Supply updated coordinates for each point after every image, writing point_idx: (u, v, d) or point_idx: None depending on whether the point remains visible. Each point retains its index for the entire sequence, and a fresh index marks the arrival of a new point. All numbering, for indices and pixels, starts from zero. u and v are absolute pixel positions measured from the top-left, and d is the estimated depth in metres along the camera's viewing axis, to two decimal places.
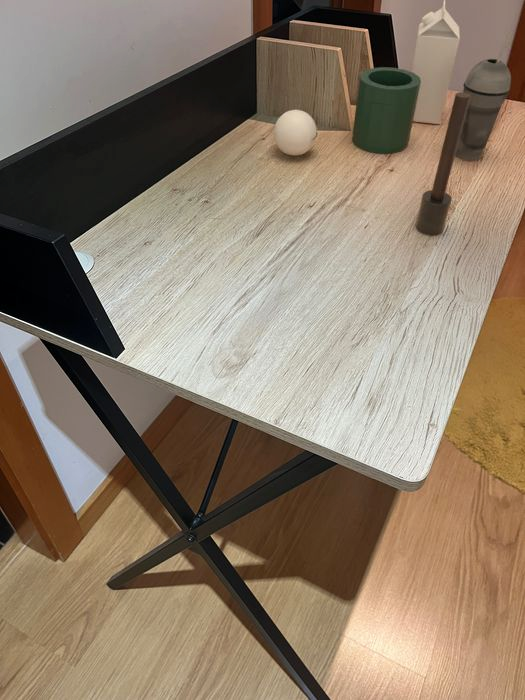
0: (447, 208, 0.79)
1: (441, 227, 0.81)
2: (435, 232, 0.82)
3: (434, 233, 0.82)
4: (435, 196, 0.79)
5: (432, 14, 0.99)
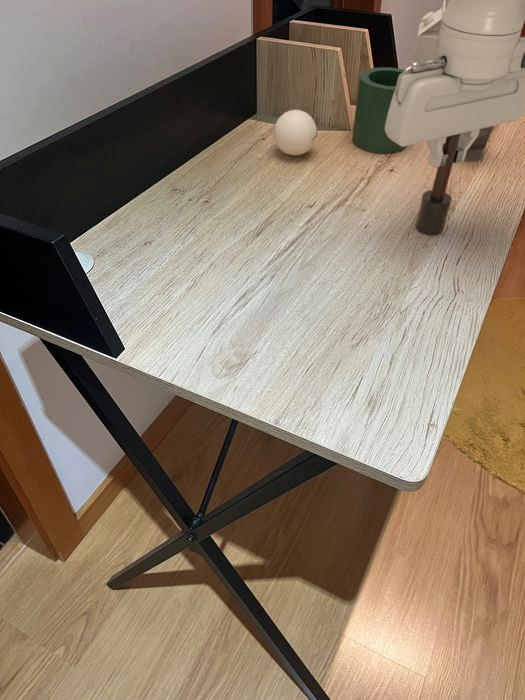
0: (447, 208, 0.79)
1: (441, 227, 0.81)
2: (435, 232, 0.82)
3: (434, 233, 0.82)
4: (435, 196, 0.79)
5: (432, 14, 0.99)
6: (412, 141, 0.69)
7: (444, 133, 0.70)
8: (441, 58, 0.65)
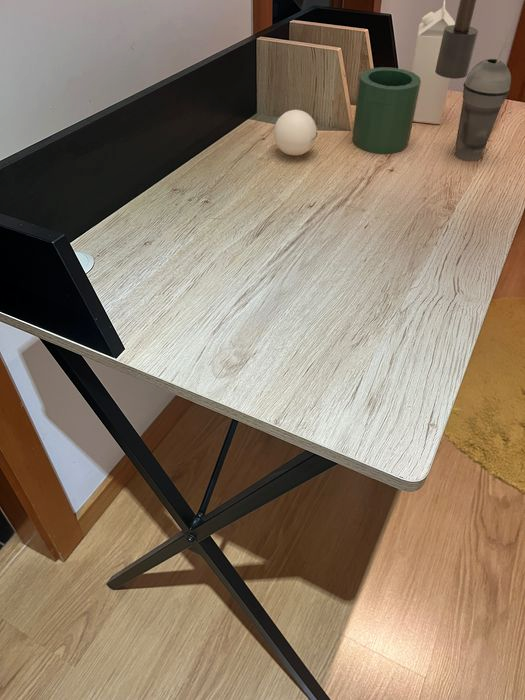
0: (473, 41, 0.69)
1: (465, 68, 0.71)
2: (458, 74, 0.71)
3: (457, 76, 0.71)
4: (459, 26, 0.68)
5: (432, 14, 0.99)
6: None
7: None
8: None
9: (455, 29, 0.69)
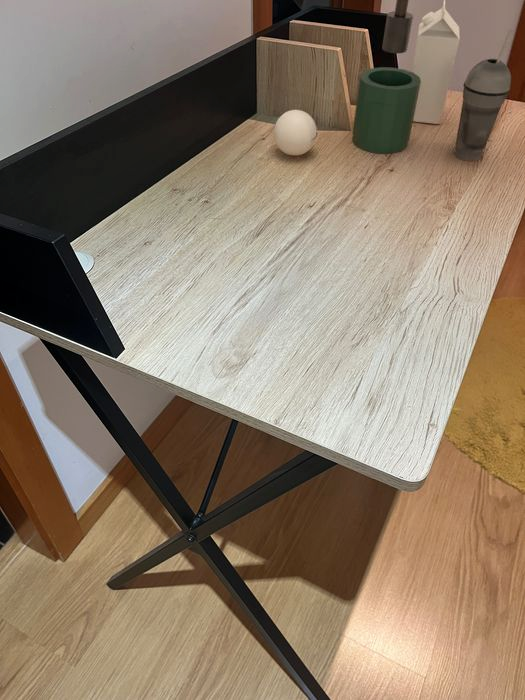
0: (409, 24, 0.88)
1: (404, 45, 0.90)
2: (399, 50, 0.91)
3: (398, 51, 0.91)
4: (398, 12, 0.88)
5: (432, 14, 0.99)
6: None
7: None
8: None
9: (395, 14, 0.89)
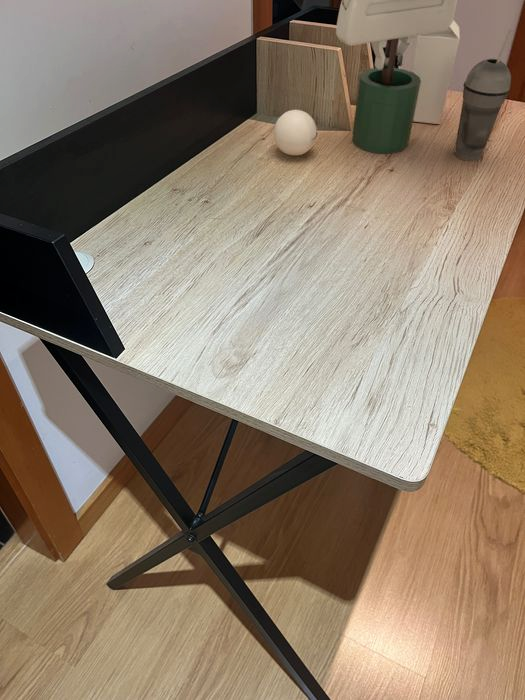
0: None
1: None
2: None
3: None
4: None
5: None
6: (357, 41, 0.86)
7: (383, 36, 0.88)
8: None
9: None
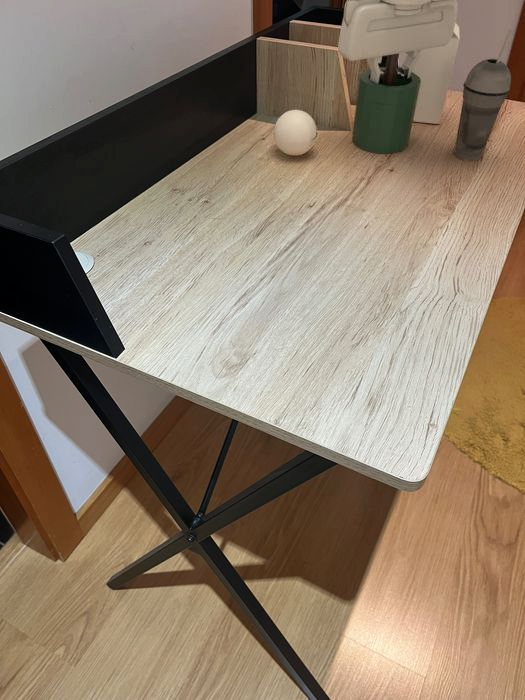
0: None
1: None
2: None
3: None
4: None
5: None
6: (358, 56, 0.88)
7: (384, 51, 0.90)
8: None
9: None
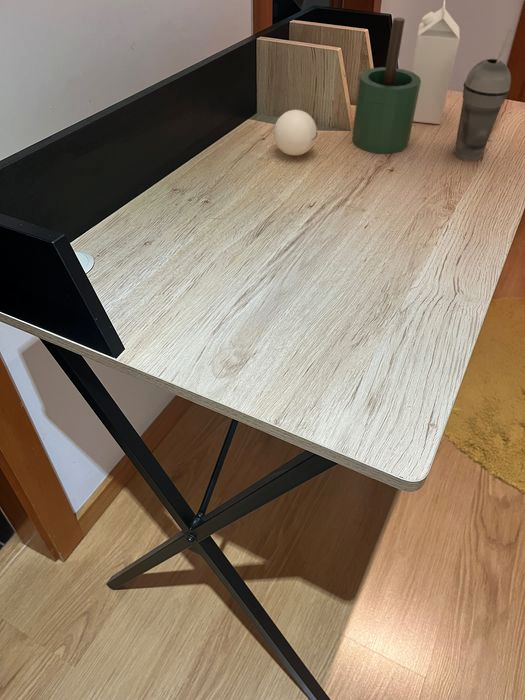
0: None
1: None
2: None
3: None
4: None
5: (432, 14, 0.99)
6: None
7: None
8: None
9: None
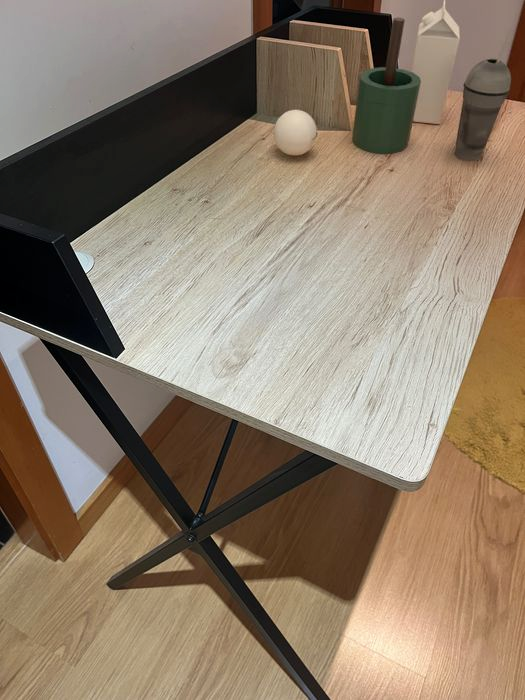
0: None
1: None
2: None
3: None
4: None
5: (432, 14, 0.99)
6: None
7: None
8: None
9: None
